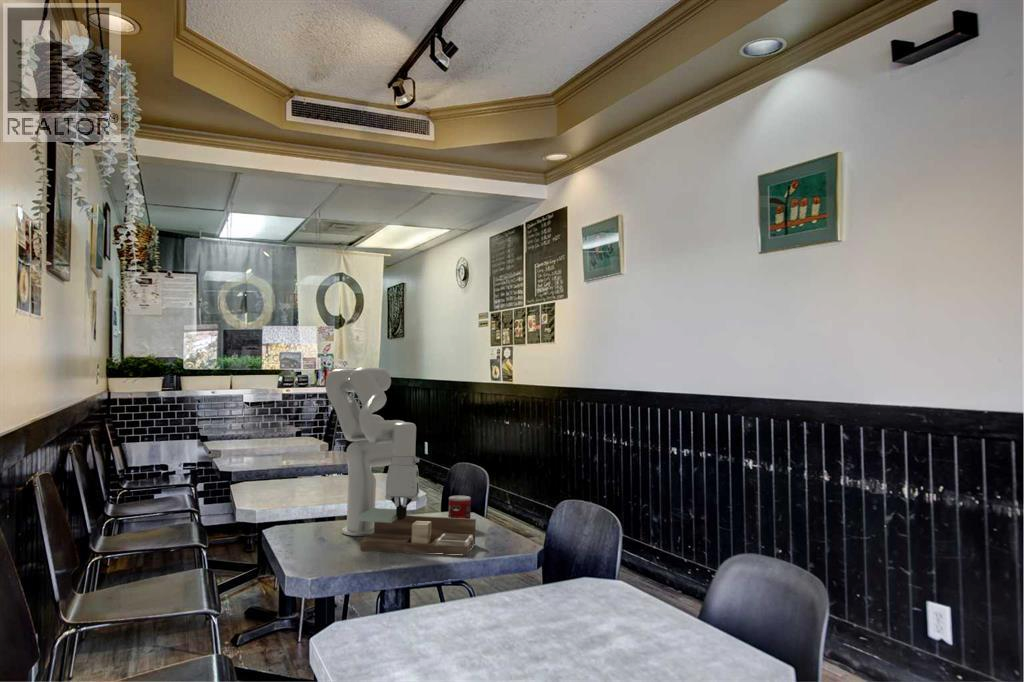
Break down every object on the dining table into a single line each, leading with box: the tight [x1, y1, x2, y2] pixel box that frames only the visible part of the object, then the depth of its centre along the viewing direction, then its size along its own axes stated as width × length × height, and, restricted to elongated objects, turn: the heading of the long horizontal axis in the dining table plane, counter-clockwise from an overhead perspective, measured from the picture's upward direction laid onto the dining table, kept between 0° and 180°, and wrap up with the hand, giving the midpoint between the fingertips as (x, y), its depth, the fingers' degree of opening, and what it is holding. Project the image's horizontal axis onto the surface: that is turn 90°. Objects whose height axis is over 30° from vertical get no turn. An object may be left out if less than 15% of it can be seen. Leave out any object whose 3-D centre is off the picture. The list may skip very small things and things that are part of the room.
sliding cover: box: [358, 507, 397, 523], centre depth 212 cm, size 13×11×2 cm
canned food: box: [447, 495, 472, 519], centre depth 238 cm, size 8×8×11 cm
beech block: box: [412, 521, 431, 544], centre depth 209 cm, size 5×5×8 cm
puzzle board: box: [359, 514, 477, 556], centre depth 210 cm, size 14×34×8 cm, turn 83°
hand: (401, 518), depth 210 cm, fingers closed
